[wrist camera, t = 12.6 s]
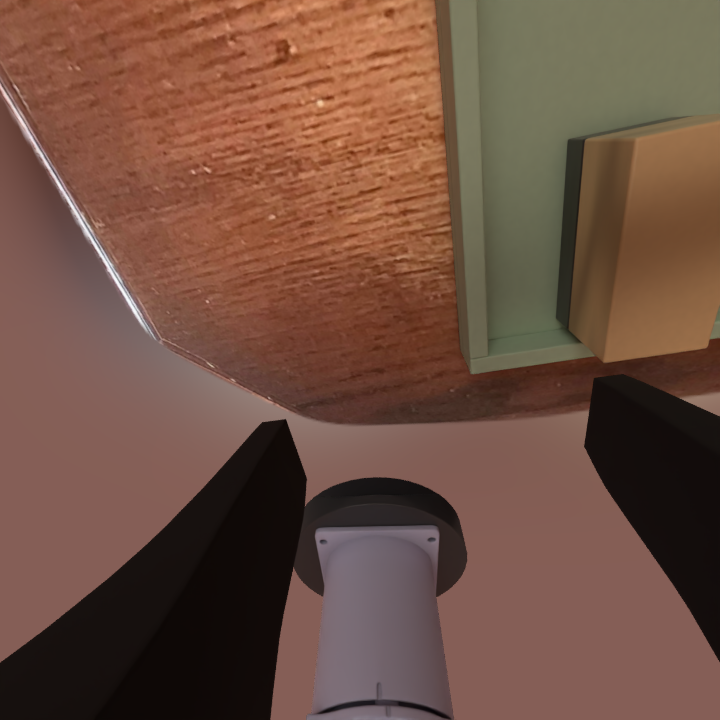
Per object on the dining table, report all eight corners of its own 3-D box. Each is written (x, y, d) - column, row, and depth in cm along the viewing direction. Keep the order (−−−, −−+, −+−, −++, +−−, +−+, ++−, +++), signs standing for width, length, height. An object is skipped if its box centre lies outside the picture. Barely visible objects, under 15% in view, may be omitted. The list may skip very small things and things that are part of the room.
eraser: (636, 305, 16) (708, 349, 13) (554, 318, 17) (603, 364, 13) (670, 117, 13) (779, 108, 10) (567, 139, 13) (636, 138, 10)
